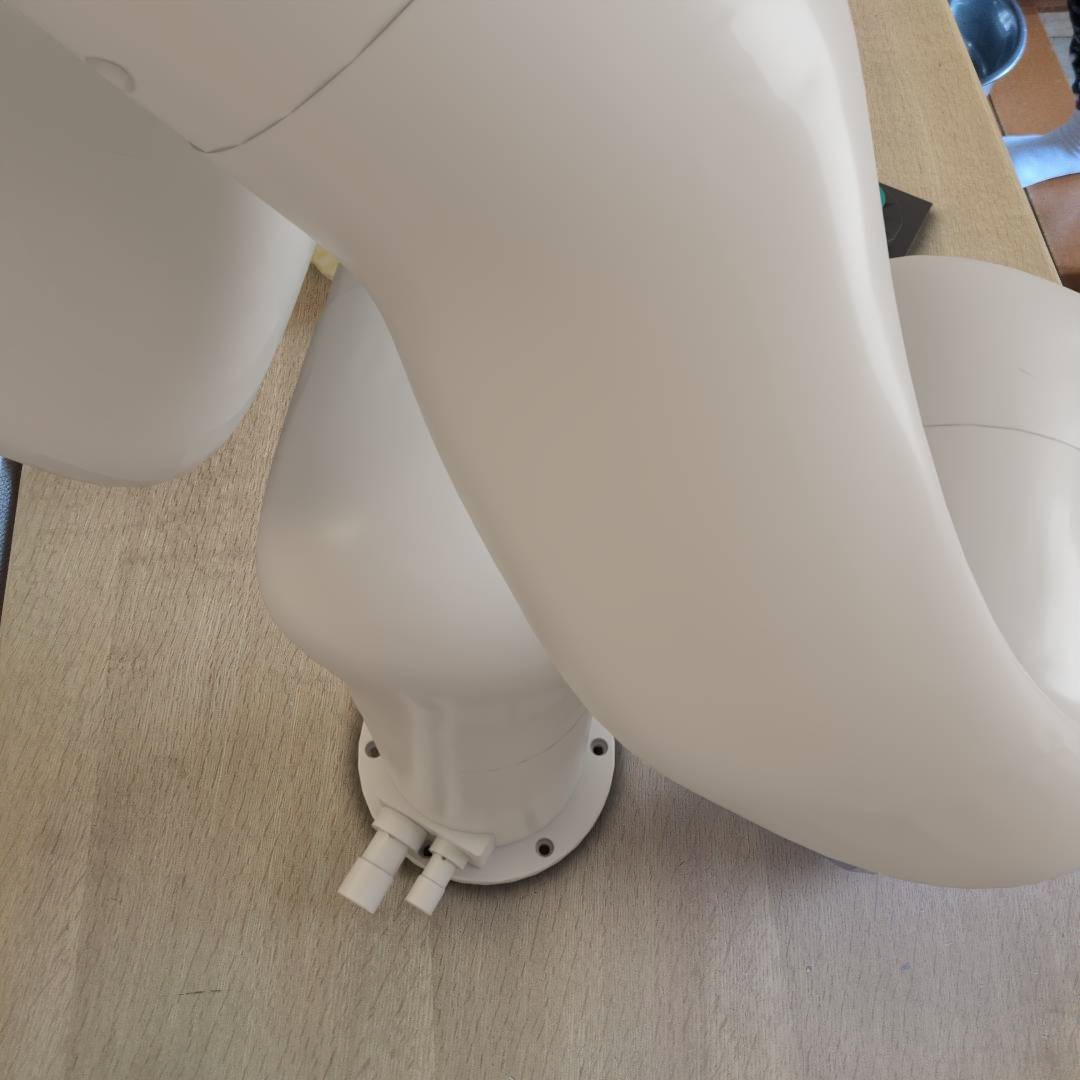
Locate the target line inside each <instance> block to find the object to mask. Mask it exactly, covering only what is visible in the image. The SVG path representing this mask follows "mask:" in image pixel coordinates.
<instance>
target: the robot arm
mask: <svg viewBox="0 0 1080 1080" xmlns="http://www.w3.org/2000/svg"><path fill="white" fill-rule="evenodd" d="M860 56H861V55H860V50H859V46H858V40H857V34H856V31H855V26H854V22H853V19H852V14H851V10H850V5H849V2H848V0H0V457H2V458H5V459H8V460H10V461H14V462H16V463H19V464H22V465H24V466H28V467H30V468H34V469H37V470H38V471H42V472H45V473H47V474H49V475H50V474H51V475H53V476H58V477H60V478H64V479H69V480H73V481H77V482H81V483H86V484H90V485H94V486H98V487H107V488H149V487H155V486H158V485H161V484H164V483H166V482H169V481H173V480H176V479H179V478H182V477H185V476H187V475H188V474H190V473H191V472H193V471H194V470H196V469H197V468H198V467H199V466H200V465H202V464H203V463H204V462H205V461H207V460H209V459H210V458H211V457H212V456H214V454H216V453H217V452H219V450H221V449H222V447H223V446H224V445H225V444H226V443H227V441H228V440H229V438H230V437H231V436H232V434H233V433H234V432H235V430H236V429H237V428H238V426H239V425H240V424H241V422H242V421H243V419H245V417H246V415H247V414H248V412H249V410H250V408H251V407H252V404H253V403H254V402H255V401H254V400H256V399H255V398H256V397H257V395H258V393H259V391H260V388H261V387H262V385H263V382H264V381H265V378H266V376H267V374H268V371H269V369H270V366H271V364H272V363H273V360H274V357H275V355H276V353H277V350H278V348H279V346H280V343H281V341H282V339H283V335H284V334H285V331H286V328H287V326H288V323H289V321H290V320H291V316H292V313H293V311H294V308H295V305H296V303H297V300H298V298H299V294H300V292H301V289H302V287H303V284H304V281H305V278H306V276H307V273H308V270H309V267H310V264H311V262H310V261H311V258H312V255H313V252H314V249H315V247H316V244H317V243H318V244H319V245H320V246H322V247H323V248H324V249H325V250H327V251H328V252H329V253H330V254H331V255H333V256H334V257H335V258H336V259H337V260H338V261H339V262H338V265H337V268H336V271H335V275H334V278H333V281H331V284H330V287H329V290H328V294H327V297H326V300H325V302H324V305H323V309H322V312H321V314H320V316H319V317H318V318H317V321H316V323H315V325H314V328H313V330H312V334H311V338H310V339H309V342H308V343H309V344H308V347H307V348H306V353H305V356H304V359H303V361H302V364H301V367H300V370H299V373H298V376H297V380H296V383H295V386H294V389H293V392H292V395H291V398H290V402H289V405H288V407H287V411H286V414H285V417H284V420H283V424H282V428H281V430H280V434H279V437H278V440H277V444H276V447H275V450H274V454H273V457H272V461H271V464H270V468H269V472H268V474H267V475H268V476H267V479H266V483H265V488H264V492H263V497H262V503H261V507H260V512H259V519H258V526H257V533H256V542H255V543H256V544H255V572H256V580H257V584H258V589H259V594H260V598H261V599H262V602H263V604H264V606H265V609H266V610H267V612H268V615H269V616H270V618H271V620H272V621H273V622H274V624H275V625H276V626H277V628H278V629H279V630H280V632H281V633H282V634H283V635H284V636H285V637H286V638H287V640H288V641H289V642H290V643H291V644H293V645H294V646H295V647H297V648H298V650H300V651H301V652H302V653H304V655H306V657H308V658H309V659H310V660H312V661H313V662H315V663H316V664H317V665H319V666H321V667H322V668H323V669H325V670H326V671H328V672H329V673H331V674H332V675H334V676H335V677H336V678H338V679H339V680H341V681H342V682H343V683H344V685H345V687H346V689H347V691H348V693H349V695H350V697H351V699H352V701H353V702H354V705H355V707H356V709H357V710H358V711H359V713H360V715H361V717H362V719H363V720H362V726H361V730H360V734H359V735H360V736H359V740H358V753H357V754H358V759H357V769H358V773H359V774H358V775H359V781H360V785H361V792H362V794H363V797H364V799H365V802H366V805H367V807H368V809H369V812H370V814H371V816H372V819H373V821H372V823H371V827H372V828H373V829H374V830H375V831H376V832H375V834H374V836H373V837H372V839H371V840H370V842H369V843H368V845H367V847H366V849H364V852H363V853H362V854H361V856H357V859H356V860H355V861H354V863H353V865H352V867H351V868H350V870H349V871H348V873H347V875H346V876H345V877H344V879H343V881H342V882H341V884H340V885H339V887H338V888H337V891H336V893H337V894H339V895H340V896H342V897H343V898H344V899H345V900H348V901H349V902H351V903H352V904H354V905H355V906H357V907H358V908H360V909H362V910H364V911H365V912H367V913H369V914H371V915H375V913H376V911H377V910H378V908H379V906H380V904H381V903H382V901H383V899H384V898H385V896H386V894H387V893H388V891H389V890H390V888H391V886H392V884H393V883H394V881H395V878H394V877H395V876H396V875H397V872H398V870H399V869H400V867H401V865H402V864H403V862H404V860H405V859H408V860H409V861H410V862H412V864H414V865H416V866H418V867H420V868H421V869H423V870H422V872H421V874H418V876H417V878H416V879H415V881H414V883H413V884H412V886H411V888H410V889H409V891H408V892H407V895H406V897H405V898H404V901H405V902H406V903H408V904H409V905H411V906H412V907H414V909H417V910H419V912H422V913H424V914H425V915H427V916H430V917H431V916H432V915H433V913H434V911H435V909H436V908H437V906H438V904H439V902H440V900H442V897H443V895H444V894H445V892H446V887H447V886H448V884H449V883H450V881H453V882H455V883H456V882H457V883H460V884H468V885H469V884H470V885H480V886H481V885H482V886H491V885H499V884H508V883H509V884H510V883H514V882H517V881H520V880H524V879H527V878H529V877H533V876H537V875H538V874H540V873H541V872H543V871H545V870H547V869H548V868H551V867H552V866H554V865H556V864H558V863H559V862H561V861H562V860H563V859H564V858H565V857H567V855H569V854H570V853H571V852H572V851H573V850H575V849H576V848H578V846H579V845H580V844H581V842H582V841H583V840H584V839H585V838H586V837H587V835H588V834H589V832H591V830H592V829H593V827H594V826H595V824H596V822H597V821H598V819H599V817H600V815H601V813H602V811H603V809H604V807H605V805H606V802H607V799H608V796H609V793H610V790H611V786H612V782H613V776H614V770H615V765H616V760H615V759H616V740H617V741H618V743H620V744H621V745H622V746H623V747H624V748H625V749H626V750H628V752H630V753H631V754H632V755H634V756H635V757H637V759H640V761H642V762H643V763H644V764H646V765H647V766H649V767H650V768H652V769H653V771H655V772H657V773H658V774H660V775H662V776H664V777H665V778H667V779H669V780H671V781H672V782H675V783H676V784H678V785H680V786H681V787H683V788H685V789H687V790H688V791H690V792H692V793H694V794H696V795H698V796H700V797H702V798H703V799H706V800H708V801H710V802H712V803H714V804H715V805H718V806H720V807H721V808H724V809H726V810H728V811H729V812H732V813H734V814H735V815H738V816H740V817H742V818H744V819H745V820H747V821H749V822H752V823H753V824H756V825H758V826H759V827H761V828H763V829H766V830H768V831H769V832H771V833H773V834H775V835H777V836H779V837H781V838H784V839H786V840H789V841H790V842H793V843H794V844H797V845H799V846H801V847H804V848H806V849H808V850H811V851H813V852H815V853H817V854H819V853H820V854H822V855H824V856H826V857H829V858H832V859H835V860H838V861H841V862H844V863H847V864H850V865H853V866H856V867H859V868H862V869H865V870H868V871H871V872H874V873H878V874H877V875H882V876H886V877H889V878H892V879H897V880H901V881H904V882H909V883H915V884H920V885H926V886H931V887H940V888H951V889H963V890H964V889H965V890H983V889H984V890H985V889H986V890H988V889H989V890H990V889H991V890H992V889H1011V888H1017V887H1024V886H1030V885H1036V884H1040V883H1043V882H1046V881H1051V880H1053V879H1057V878H1060V877H1063V876H1067V875H1069V874H1072V873H1074V872H1076V871H1078V870H1080V292H1078V291H1075V290H1073V289H1071V288H1068V287H1066V286H1063V285H1061V284H1059V283H1056V282H1054V281H1053V280H1049V279H1046V278H1043V277H1041V276H1038V275H1035V274H1033V273H1031V272H1026V271H1023V270H1020V269H1017V268H1015V267H1011V266H1007V265H1003V264H999V263H994V262H990V261H986V260H981V259H976V258H972V257H964V256H956V255H955V256H954V255H935V254H917V255H916V254H915V255H907V256H904V257H897V258H891V259H889V254H888V247H887V240H886V233H885V226H884V219H883V212H882V204H881V197H880V190H879V183H878V182H879V177H878V170H877V163H876V156H875V149H874V148H875V147H874V142H873V134H872V127H871V120H870V114H869V106H868V99H867V91H866V86H865V79H864V74H863V68H862V63H861V57H860ZM595 748H600V749H601V750H602V753H601V754H597V753H594V749H595ZM375 750H377V751H378V754H379V755H378V756H376V757H374V756H372V753H373V752H374V751H375ZM543 846H546V847H547V848H548V850H549V852H548V853H547V854H541V852H540V848H542V847H543ZM426 848H428V851H429V852H430V853H431V855H430V856H426V855H425V854H424V851H425V850H426ZM820 854H819V855H820Z"/></svg>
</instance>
